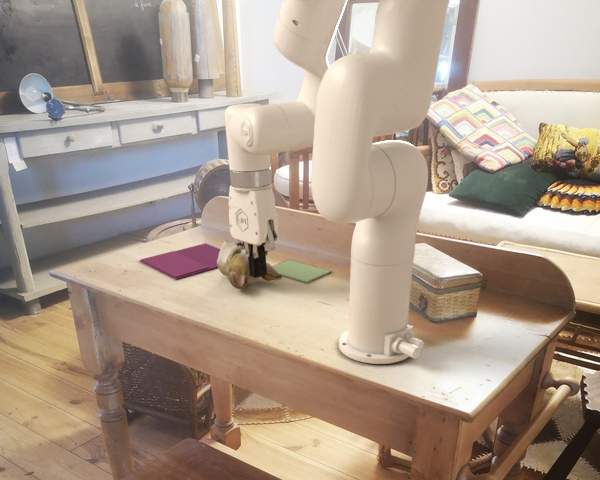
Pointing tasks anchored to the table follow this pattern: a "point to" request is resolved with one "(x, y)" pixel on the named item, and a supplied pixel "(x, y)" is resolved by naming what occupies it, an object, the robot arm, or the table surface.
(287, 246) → the table surface
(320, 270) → the sage cloth
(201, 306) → the table surface
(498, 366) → the table surface
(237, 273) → the ceramic sculpture
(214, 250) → the plum cloth
